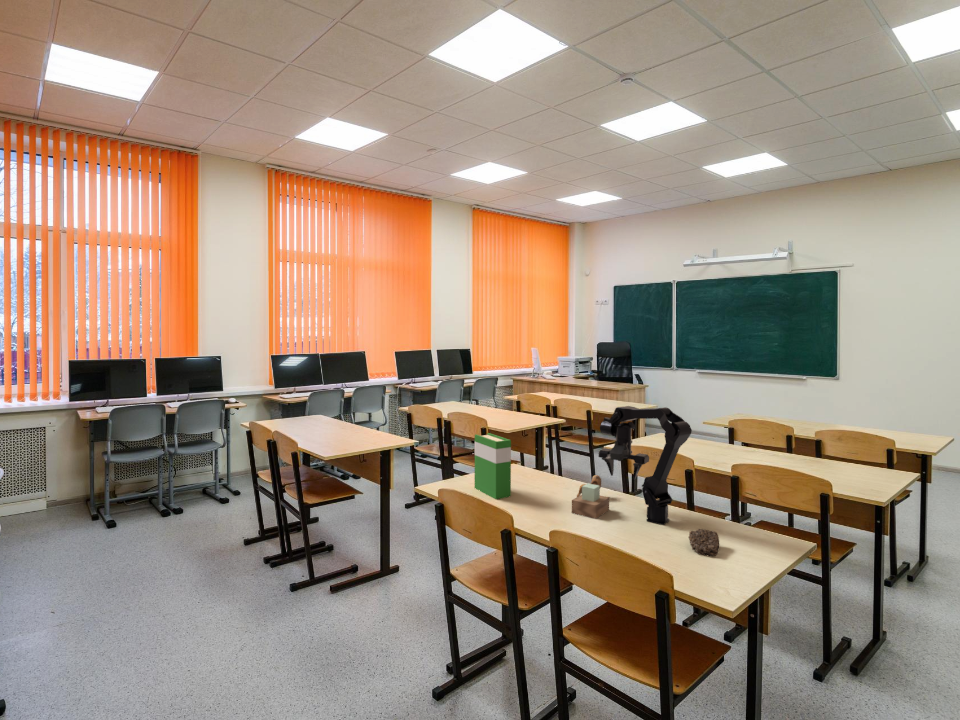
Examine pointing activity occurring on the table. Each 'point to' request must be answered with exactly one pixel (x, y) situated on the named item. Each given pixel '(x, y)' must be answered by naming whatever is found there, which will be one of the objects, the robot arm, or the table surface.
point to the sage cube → (590, 492)
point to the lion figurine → (595, 480)
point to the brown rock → (704, 542)
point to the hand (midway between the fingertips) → (623, 477)
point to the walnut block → (590, 506)
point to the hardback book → (493, 465)
